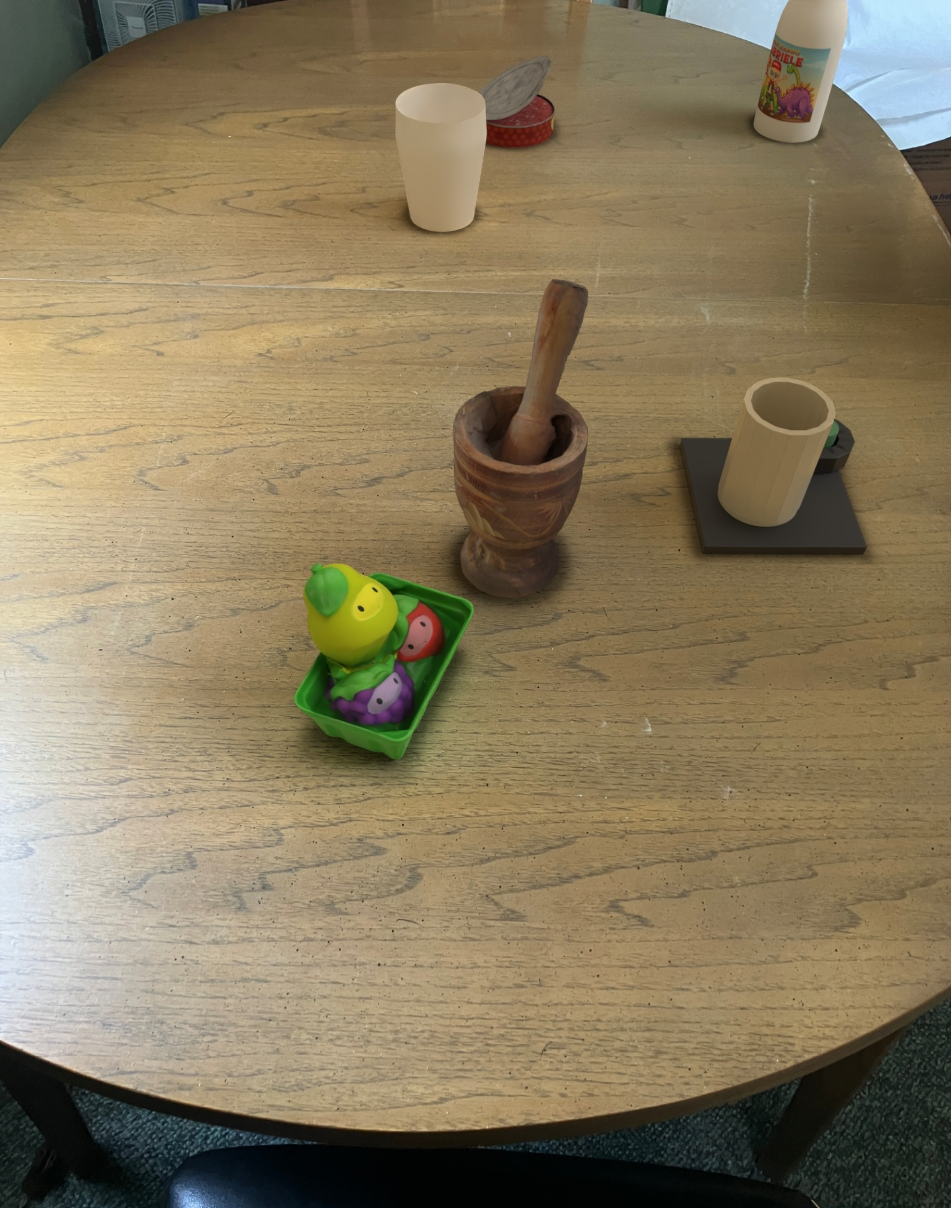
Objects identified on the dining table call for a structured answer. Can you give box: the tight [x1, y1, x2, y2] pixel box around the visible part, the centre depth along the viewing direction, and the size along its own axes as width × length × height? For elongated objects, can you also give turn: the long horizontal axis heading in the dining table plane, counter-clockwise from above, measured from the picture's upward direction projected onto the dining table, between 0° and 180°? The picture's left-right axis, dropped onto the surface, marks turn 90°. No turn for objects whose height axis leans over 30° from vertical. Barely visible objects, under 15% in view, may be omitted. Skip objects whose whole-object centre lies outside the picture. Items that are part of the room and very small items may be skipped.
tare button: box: [823, 421, 839, 448], centre depth 75 cm, size 2×2×1 cm
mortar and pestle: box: [452, 278, 589, 599], centre depth 63 cm, size 12×9×20 cm
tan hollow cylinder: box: [717, 377, 837, 527], centre depth 69 cm, size 6×6×9 cm
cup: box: [394, 82, 487, 233], centre depth 96 cm, size 9×9×12 cm
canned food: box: [478, 55, 556, 149], centre depth 111 cm, size 11×10×10 cm
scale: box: [679, 418, 868, 555], centre depth 74 cm, size 13×13×3 cm
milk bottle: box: [753, 0, 849, 144], centre depth 107 cm, size 8×8×20 cm
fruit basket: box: [293, 562, 475, 760], centre depth 58 cm, size 11×9×11 cm
